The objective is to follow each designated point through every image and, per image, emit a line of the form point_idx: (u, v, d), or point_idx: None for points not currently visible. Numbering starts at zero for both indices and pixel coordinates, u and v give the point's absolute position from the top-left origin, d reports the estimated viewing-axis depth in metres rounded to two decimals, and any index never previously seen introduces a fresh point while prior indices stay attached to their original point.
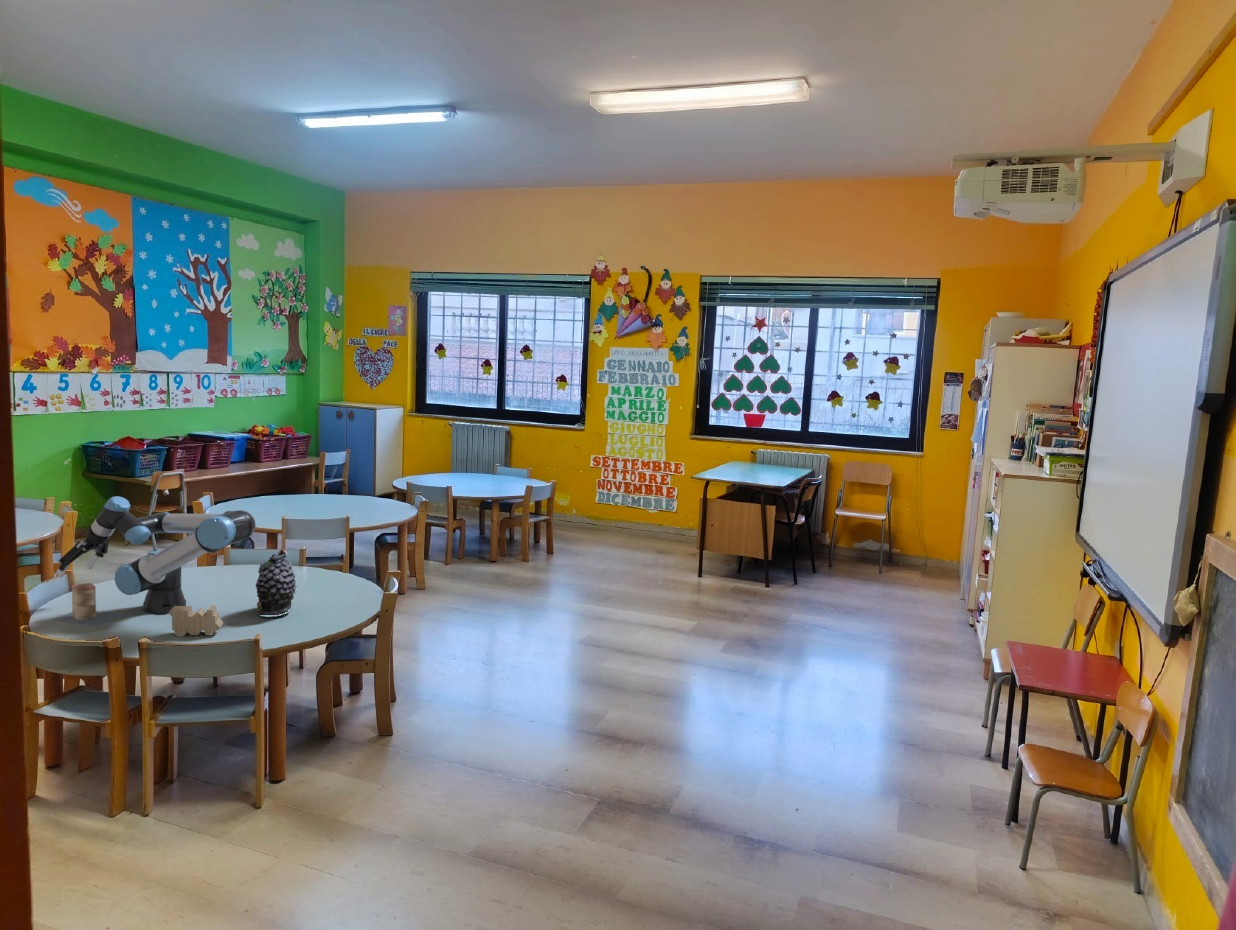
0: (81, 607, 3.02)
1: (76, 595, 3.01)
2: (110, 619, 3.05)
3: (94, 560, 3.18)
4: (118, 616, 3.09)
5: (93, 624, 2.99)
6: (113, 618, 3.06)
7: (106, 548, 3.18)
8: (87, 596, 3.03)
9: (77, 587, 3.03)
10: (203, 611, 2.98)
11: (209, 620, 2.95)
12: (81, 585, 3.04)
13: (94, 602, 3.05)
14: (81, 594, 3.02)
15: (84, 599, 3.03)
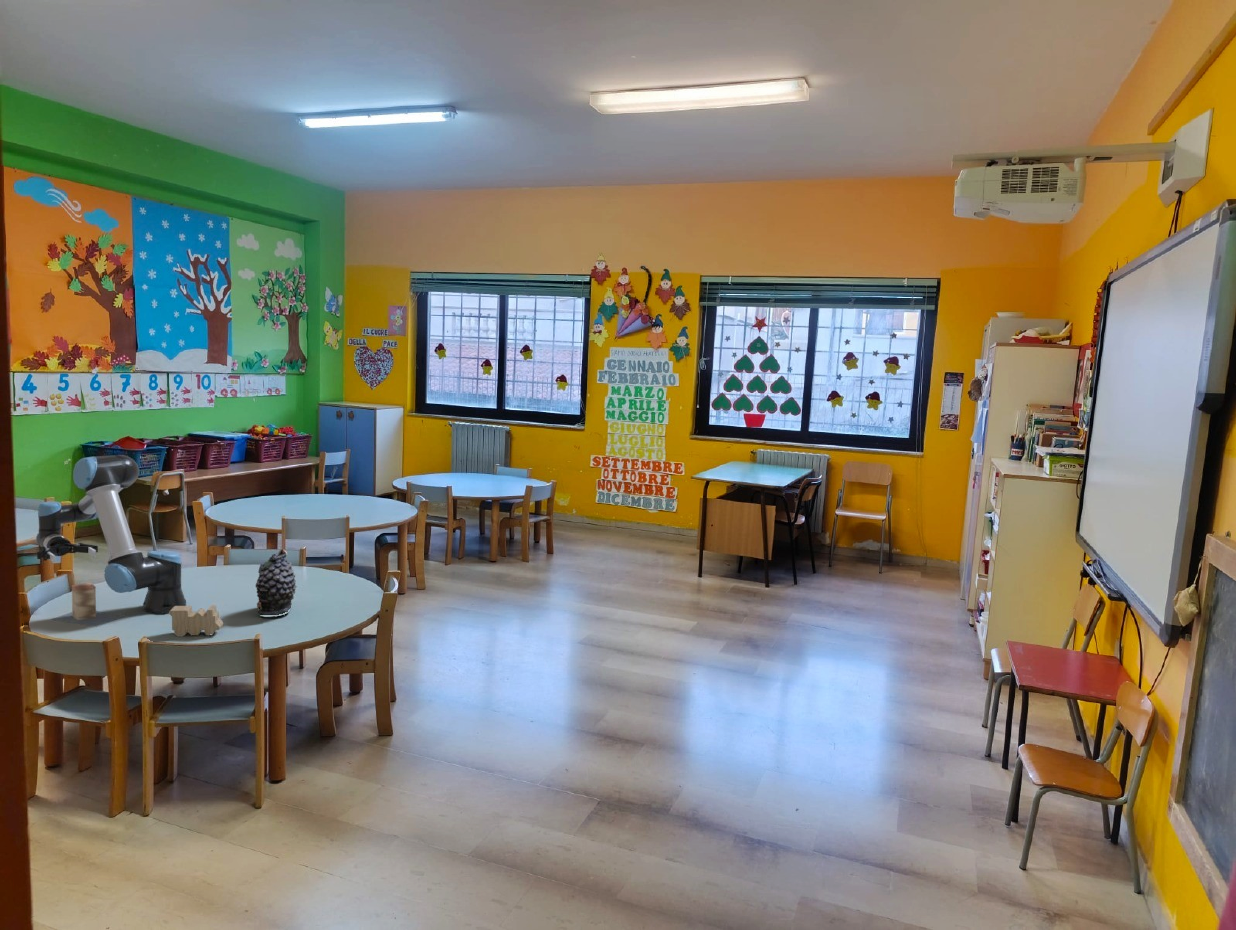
0: (81, 607, 3.02)
1: (76, 595, 3.01)
2: (110, 619, 3.05)
3: (90, 549, 3.17)
4: (118, 616, 3.09)
5: (93, 624, 2.99)
6: (113, 618, 3.06)
7: (89, 545, 3.22)
8: (87, 596, 3.03)
9: (77, 587, 3.03)
10: (203, 611, 2.98)
11: (209, 620, 2.95)
12: (81, 585, 3.04)
13: (94, 602, 3.05)
14: (81, 594, 3.02)
15: (84, 599, 3.03)
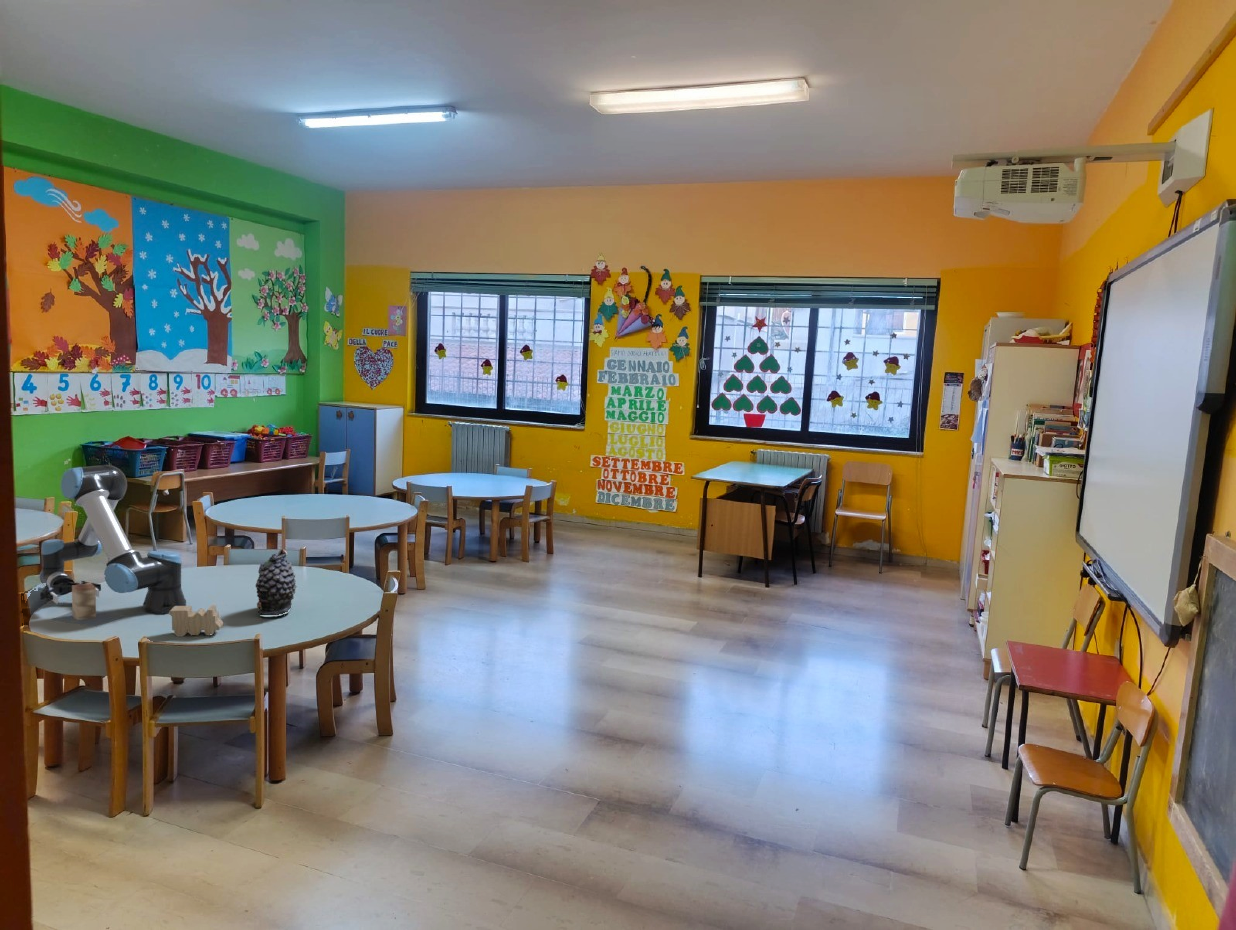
0: (81, 607, 3.02)
1: (76, 595, 3.01)
2: (110, 619, 3.05)
3: None
4: (118, 616, 3.09)
5: (93, 624, 2.99)
6: (113, 618, 3.06)
7: (92, 583, 3.22)
8: (87, 596, 3.03)
9: (77, 587, 3.03)
10: (203, 611, 2.98)
11: (209, 620, 2.95)
12: (81, 585, 3.04)
13: (94, 602, 3.05)
14: (81, 594, 3.02)
15: (84, 599, 3.03)
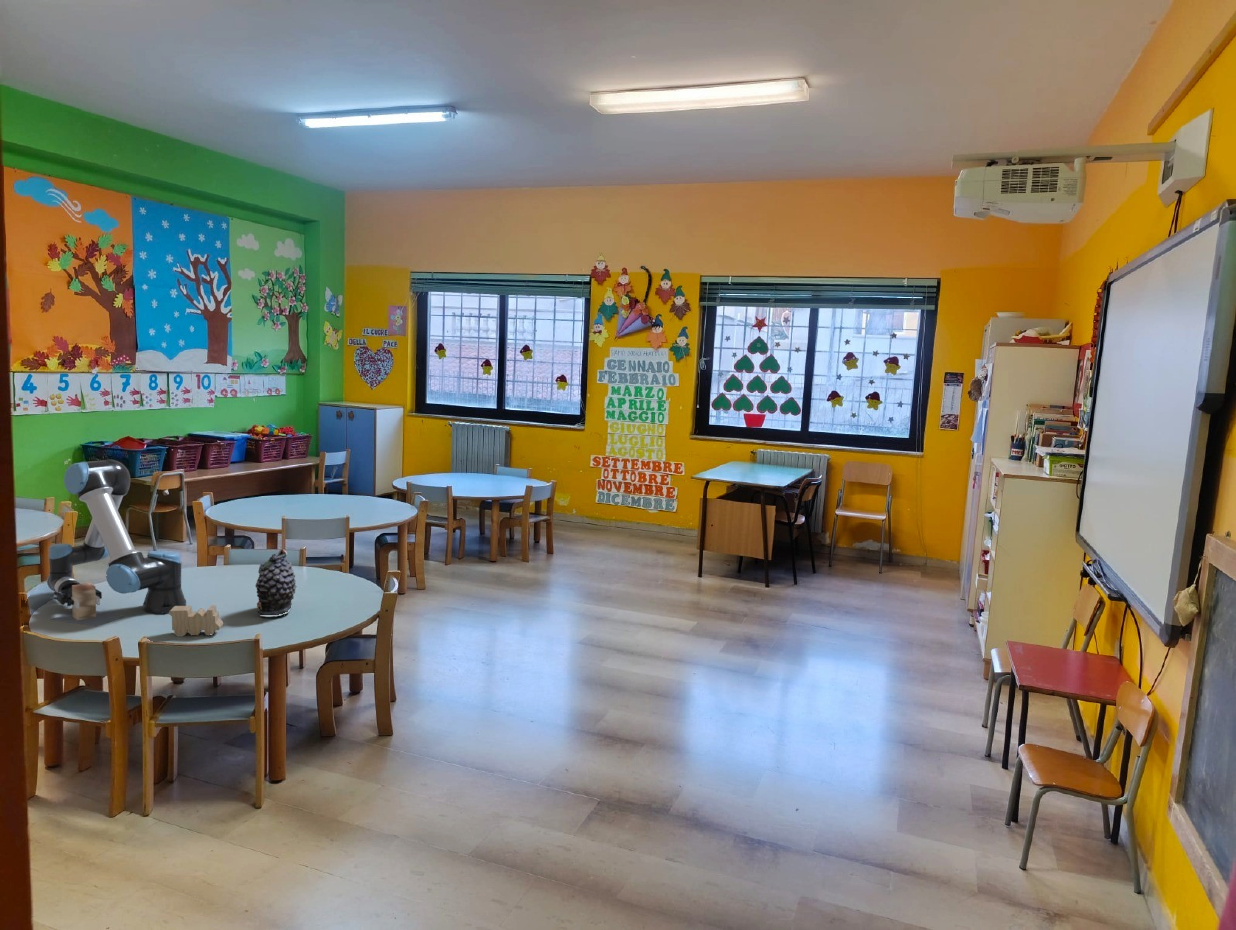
0: (81, 607, 3.02)
1: (76, 595, 3.01)
2: (110, 619, 3.05)
3: None
4: (118, 616, 3.09)
5: (93, 624, 2.99)
6: (113, 618, 3.06)
7: (96, 590, 3.13)
8: (87, 596, 3.03)
9: (77, 587, 3.03)
10: (203, 611, 2.98)
11: (209, 620, 2.95)
12: (81, 585, 3.04)
13: (94, 602, 3.05)
14: (81, 594, 3.02)
15: (84, 599, 3.03)
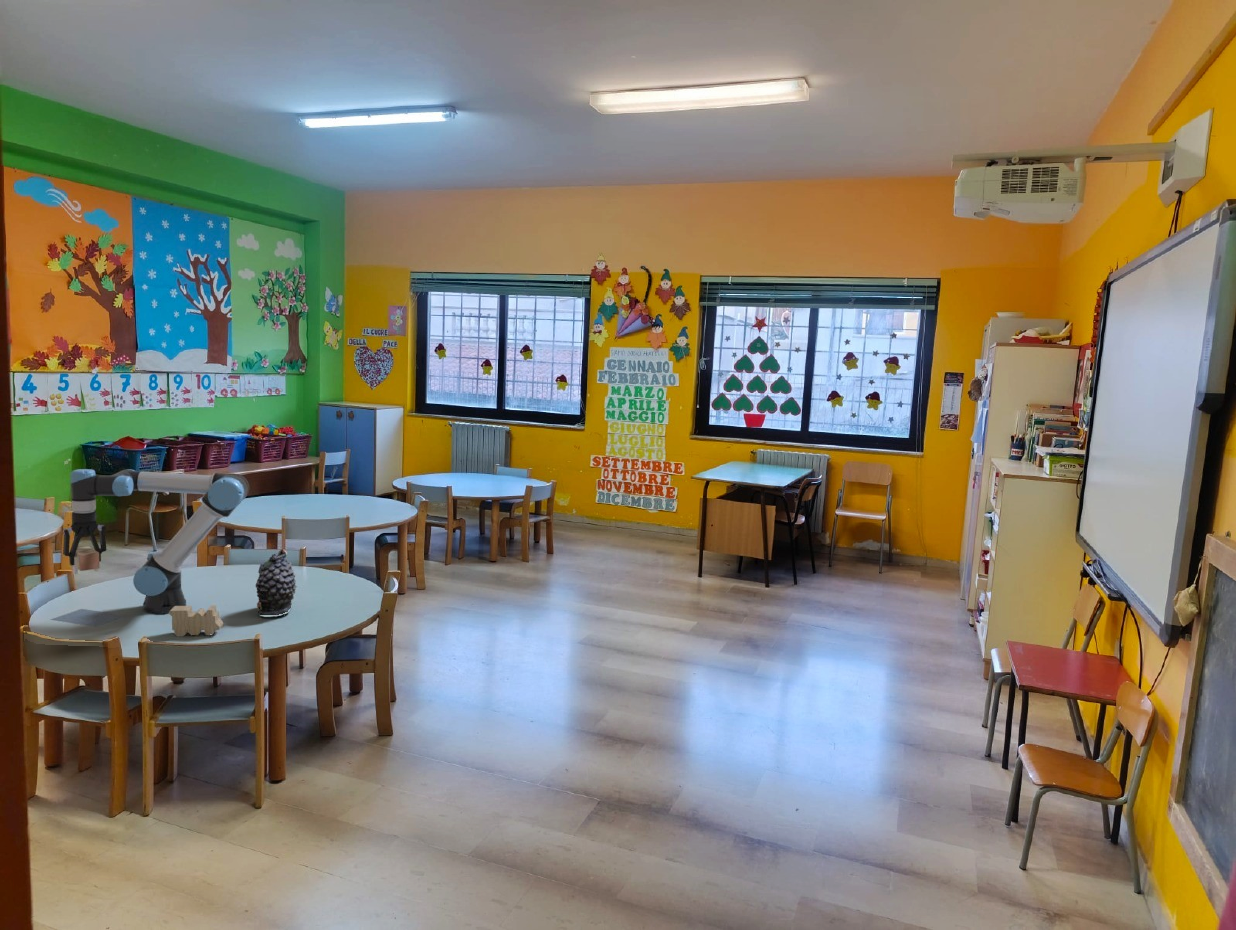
0: None
1: (78, 566, 2.97)
2: (110, 619, 3.05)
3: None
4: (118, 616, 3.09)
5: (93, 624, 2.99)
6: (113, 618, 3.06)
7: (103, 541, 3.04)
8: None
9: (83, 563, 2.96)
10: (203, 611, 2.98)
11: (209, 620, 2.95)
12: (88, 560, 2.97)
13: None
14: None
15: None
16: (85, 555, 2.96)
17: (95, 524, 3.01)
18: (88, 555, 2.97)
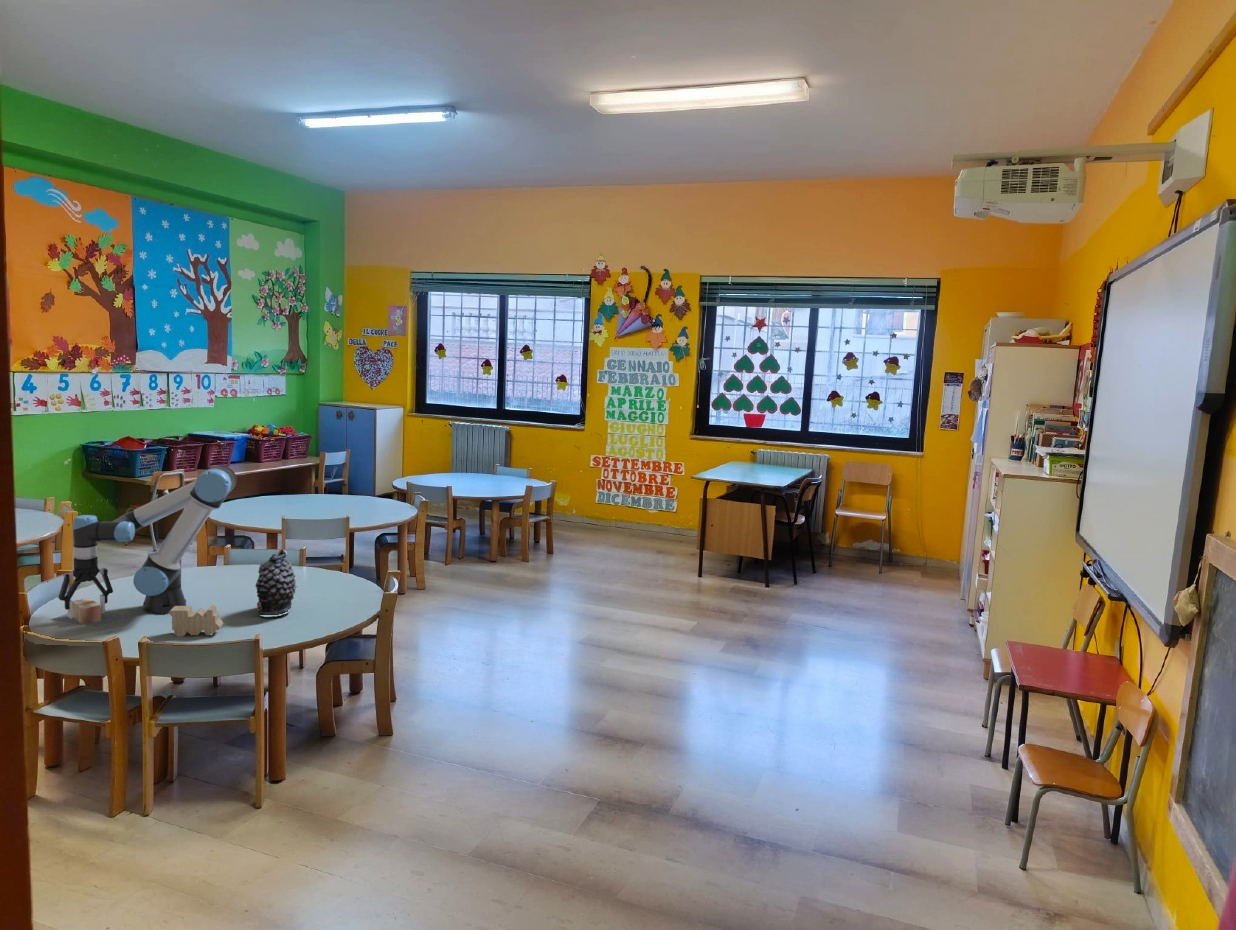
0: None
1: (80, 620, 3.00)
2: (110, 619, 3.05)
3: (102, 601, 3.06)
4: (118, 616, 3.09)
5: (93, 624, 2.99)
6: (113, 618, 3.06)
7: (108, 583, 3.07)
8: None
9: (85, 617, 2.98)
10: (203, 611, 2.98)
11: (209, 620, 2.95)
12: (90, 614, 2.99)
13: None
14: None
15: None
16: (87, 609, 2.99)
17: (96, 569, 3.03)
18: (90, 608, 2.99)
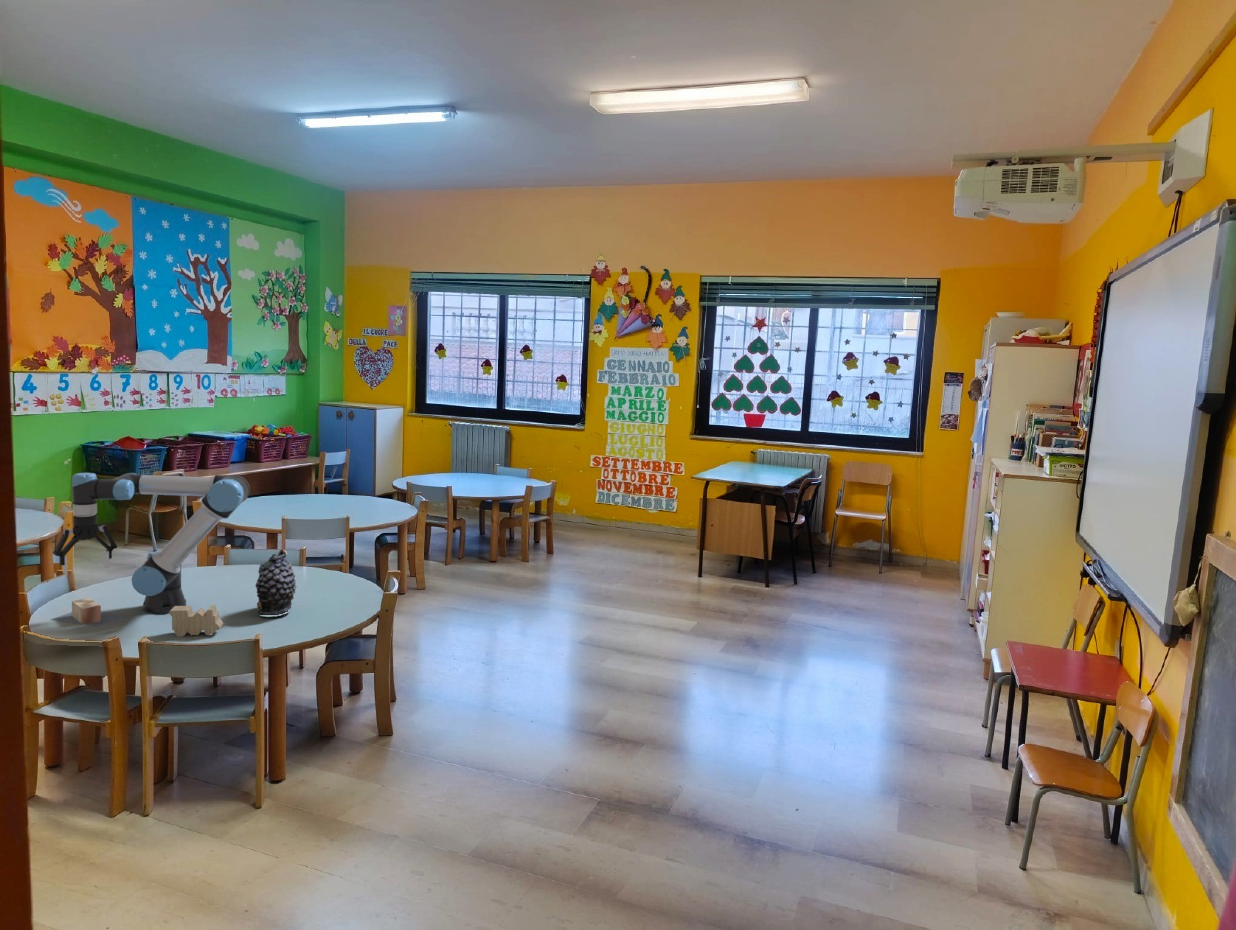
0: None
1: (80, 620, 3.00)
2: (110, 619, 3.05)
3: (106, 556, 3.06)
4: (118, 616, 3.09)
5: (93, 624, 2.99)
6: (113, 618, 3.06)
7: (111, 540, 3.06)
8: None
9: (85, 617, 2.98)
10: (203, 611, 2.98)
11: (209, 620, 2.95)
12: (90, 614, 2.99)
13: None
14: None
15: None
16: (87, 609, 2.99)
17: (95, 527, 3.02)
18: (90, 608, 2.99)
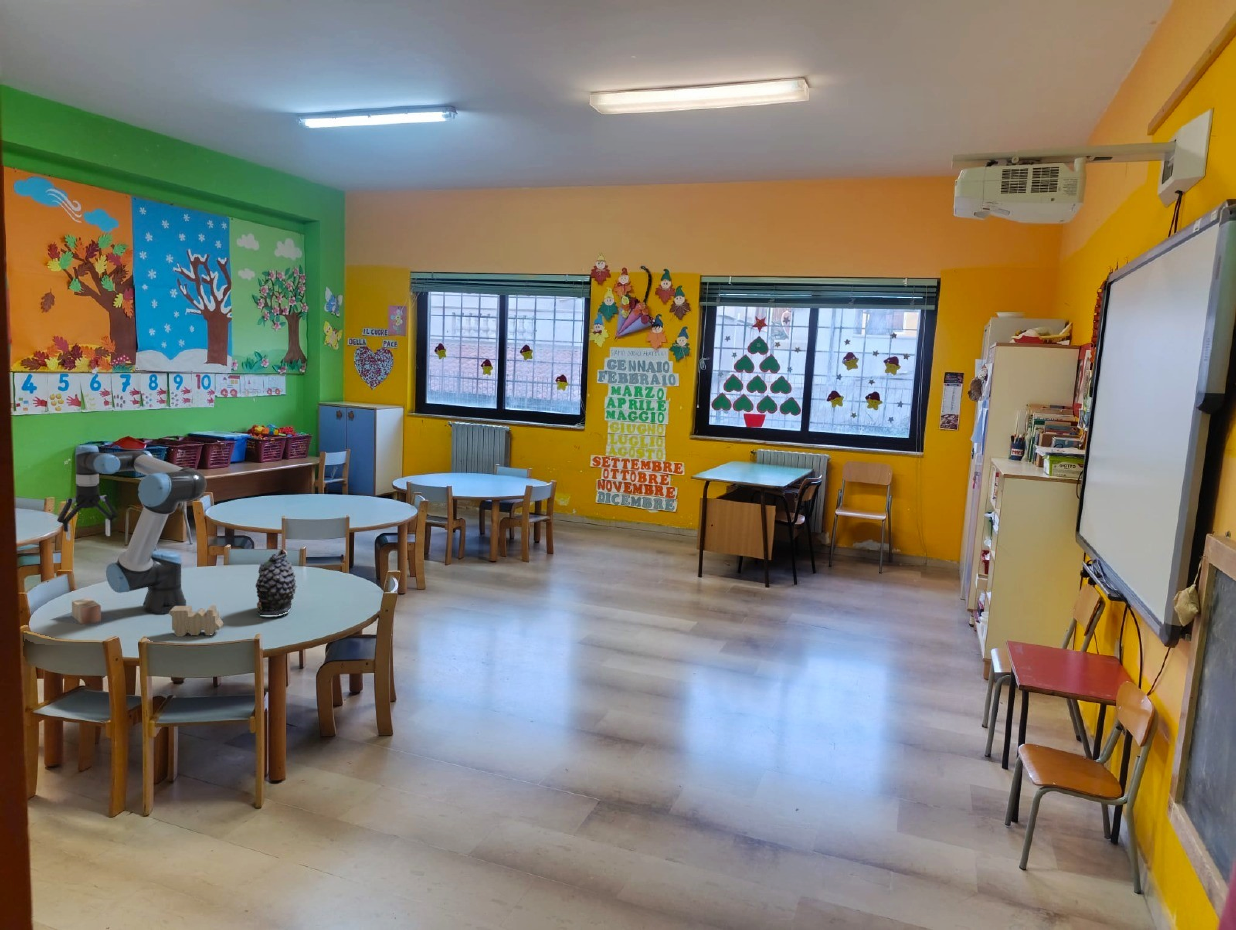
0: None
1: (80, 620, 3.00)
2: (110, 619, 3.05)
3: (107, 525, 3.23)
4: (118, 616, 3.09)
5: (93, 624, 2.99)
6: (113, 618, 3.06)
7: (112, 509, 3.23)
8: None
9: (85, 617, 2.98)
10: (203, 611, 2.98)
11: (209, 620, 2.95)
12: (90, 614, 2.99)
13: None
14: None
15: None
16: (87, 609, 2.99)
17: (97, 497, 3.19)
18: (90, 608, 2.99)
